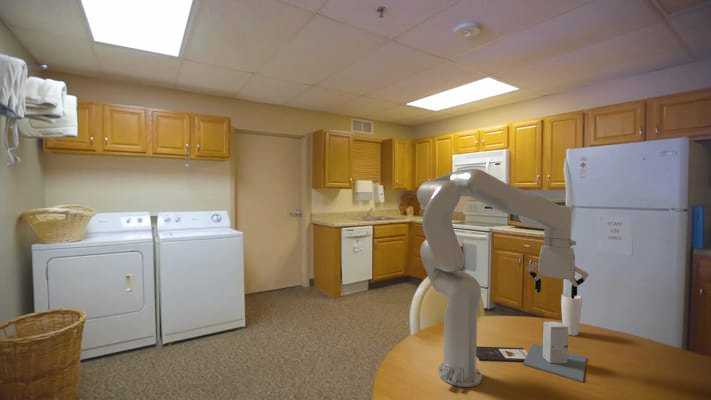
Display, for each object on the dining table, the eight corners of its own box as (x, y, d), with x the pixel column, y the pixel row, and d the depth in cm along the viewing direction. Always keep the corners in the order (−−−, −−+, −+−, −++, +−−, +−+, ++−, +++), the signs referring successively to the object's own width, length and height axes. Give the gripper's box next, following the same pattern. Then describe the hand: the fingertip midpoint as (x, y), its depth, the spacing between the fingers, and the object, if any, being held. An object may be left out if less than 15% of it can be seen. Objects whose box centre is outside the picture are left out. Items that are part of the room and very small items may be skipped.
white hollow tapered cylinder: (584, 337, 127) (585, 298, 126) (567, 337, 127) (568, 298, 126) (573, 329, 134) (574, 293, 133) (556, 329, 134) (557, 293, 133)
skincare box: (550, 363, 106) (551, 326, 106) (541, 356, 110) (542, 321, 110) (568, 363, 106) (569, 326, 106) (559, 356, 111) (560, 321, 110)
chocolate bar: (471, 346, 118) (522, 347, 117) (471, 348, 118) (522, 350, 117) (479, 359, 109) (535, 361, 108) (479, 362, 109) (535, 363, 108)
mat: (582, 382, 96) (582, 381, 96) (523, 364, 106) (523, 363, 106) (586, 358, 111) (586, 356, 111) (533, 344, 121) (533, 343, 120)
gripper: (589, 244, 105) (588, 297, 106) (529, 239, 116) (528, 287, 116) (588, 247, 99) (586, 303, 100) (525, 241, 110) (524, 292, 110)
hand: (555, 294), depth 108 cm, fingers open, 9 cm apart
